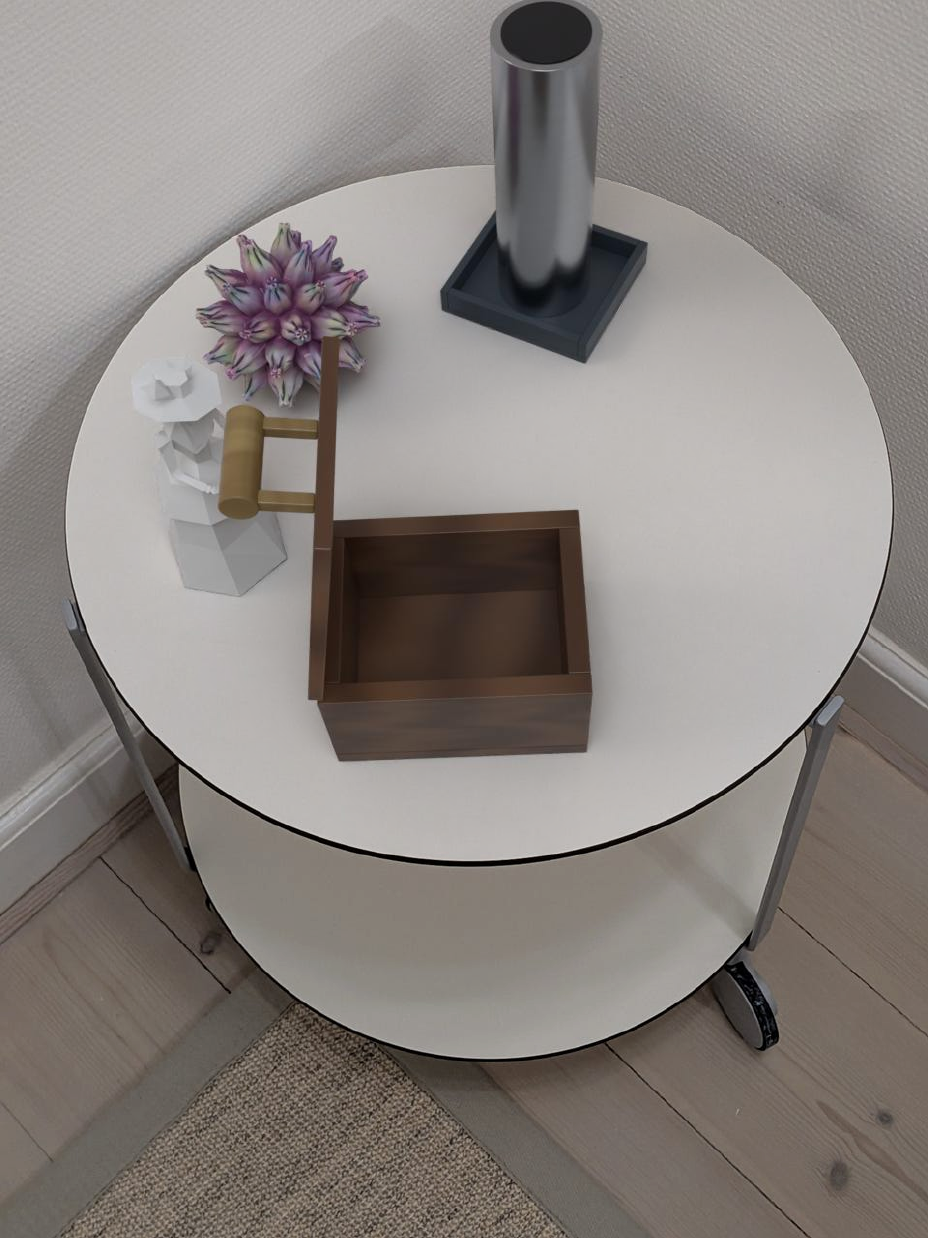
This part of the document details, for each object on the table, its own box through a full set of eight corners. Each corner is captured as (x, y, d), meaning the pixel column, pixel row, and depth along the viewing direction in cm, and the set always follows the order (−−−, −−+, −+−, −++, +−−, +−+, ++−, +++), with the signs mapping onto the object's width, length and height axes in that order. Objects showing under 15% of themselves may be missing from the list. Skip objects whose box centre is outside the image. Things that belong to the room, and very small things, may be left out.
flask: (607, 276, 88) (626, 23, 70) (550, 331, 86) (555, 84, 68) (537, 235, 90) (537, -21, 72) (480, 288, 88) (466, 38, 70)
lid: (339, 335, 57) (228, 328, 56) (332, 550, 51) (209, 544, 51) (329, 516, 70) (239, 511, 69) (323, 701, 64) (225, 698, 64)
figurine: (274, 601, 77) (208, 426, 61) (151, 584, 78) (55, 407, 62) (301, 507, 80) (245, 318, 65) (183, 492, 81) (99, 302, 66)
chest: (574, 581, 77) (578, 508, 70) (586, 752, 72) (592, 693, 64) (343, 591, 77) (323, 520, 70) (338, 762, 72) (316, 704, 65)
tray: (646, 262, 89) (648, 241, 87) (585, 363, 85) (586, 344, 83) (506, 214, 92) (506, 193, 90) (441, 310, 88) (439, 290, 86)
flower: (391, 336, 89) (376, 449, 81) (224, 331, 89) (194, 444, 81) (383, 190, 80) (366, 301, 72) (198, 185, 80) (162, 296, 73)
